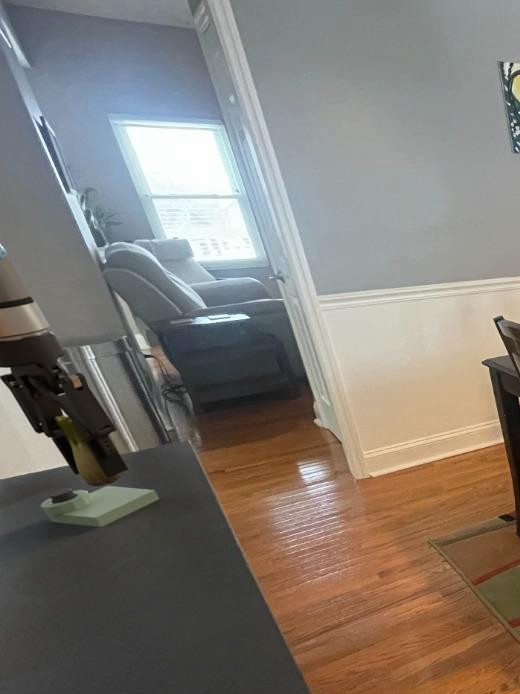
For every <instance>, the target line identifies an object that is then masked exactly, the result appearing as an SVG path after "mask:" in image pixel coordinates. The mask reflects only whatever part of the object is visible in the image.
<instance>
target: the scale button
mask: <svg viewBox="0 0 520 694" xmlns="http://www.w3.org/2000/svg"><path fill="white" fill-rule="evenodd" d="M73 491H74V490H72V488H63V489H58V490H55V491H53V492H51V493H50V494H49V495H48V497H49V499H50V498H51V499H52V501H53V502H54V503H55V504H56V503H62V502H65V501H68V500H71V499H73V498H75V497H76V496H75V494H74V493H73Z"/></svg>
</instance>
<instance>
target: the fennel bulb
mask: <svg viewBox="0 0 520 694" xmlns="http://www.w3.org/2000/svg"><path fill="white" fill-rule="evenodd" d="M55 420H56V422H57V423H58V425H59V427H60V428H61V429H62V431H63V433H64V434H65V436H66V438H67V439H68V441H69V443H70V445H71V447H72V451H73V455H74V459H75V462H76V466H77V469H78V471H79V474H78V475H80V477H81V478H82V479H83V481H84V482H85V483H86V484H87V485H88V486H91V487H102V486H105V485H106V486H107V485H112V484H114V483H115V482H117V481H118V480H119V479H120V478H121V477H122V476H123V475H124V472H121V473H119V474H117V475H114V476H112V477H107V476H106V475H105V473H104V472H103V470H102V468H101V467H100V465H99V464H98V462H97V461H96V459H95V457H94V456H93V454H92V453H91V451H90V449H89V448H88V446H87V445H86V443H85V442H83V441H82V440H83V439H85V438H87V437H86V436H85V435H84V434H83V433H82V432H81V431H80V430H79V428H78V427H77V426H76V425H75V424H74V423H73V422H72V420H71V419H70V418H69V417H68V416H65V415H64V414H63V416H58V417H55Z"/></svg>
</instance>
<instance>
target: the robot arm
mask: <svg viewBox="0 0 520 694" xmlns="http://www.w3.org/2000/svg"><path fill="white" fill-rule="evenodd" d="M50 327H51V326H50V324H49V322H48V321H47V319H46V317H45V315H44V314H43V312H42V311H41V309H40V307H39V305H38V304H37V302H36V301H35V300H34V298H33V297H32V294H31V293H30V291H29V290H28V288H27V286H26V285H25V283H24V281H23V279H22V277H21V275H20V274H19V272H18V271H17V269H16V267H15V265H14V264H13V262H12V260H11V258H10V256H9V255H8V251H7V249H6V248H5V247H4V246H2V245H1V244H0V368H2V369H10V372H9V373H5V374H2V375H0V380H1V382H2V383H3V384H4V385H5V386H6V388H8V390H9V391H10V393H11V394H12V396H13V397H14V399H15V401H16V402H17V405H18V406H19V408H20V409H21V411H22V412H23V414H24V416H25V418H26V419H27V421H28V422H29V425H30V426H31V427H32V429H33V431H34V432H35V433H36V434H39V435H40V434H44V435H45V436H46V437H47V438H49V439H51V441H52V442H53V443H54V445H55V447H56V448H57V449H58V451H59V453H60V454H61V456H62V457H63V459H64V460H65V462H66V463H67V465H68V466H69V468H70V470H71V471H72V472H73V474H74V475H80V474H79V471H78V469H77V466H76V462H75V459H74V455H73V451H72V447H71V445H70V443H69V441H68V439H67V438H66V436H65V434H64V433H63V431H62V429H61V428H60V427H59V425H58V423H57V422H56V420H55V417H58V416H63V415H64V414H65V415H66V417H69V418H70V419H71V420H72V422H73V423H74V424H75V425H76V426H77V427H78V428H79V430H80V431H81V432H82V433H83V434H84V435H85V436H86V437H87V438H85V439H83V440H82V441H83V442H85V443H86V445H87V446H88V448H89V449H90V451H91V453H92V454H93V456H94V457H95V459H96V461H97V462H98V464H99V465H100V467H101V468H102V470H103V472H104V473H105V475H106V476H107V477H112V476H114V475H117V474H119V473H121V472H123V473H124V472H126V471H128V470H129V467H128V466H127V464H126V463H125V461H124V459H123V458H122V456H121V454H120V453H119V451H118V450H117V448H116V446H115V445H114V443H113V442H112V440H111V437H110V436H109V435H110V434H112V433H114V432H116V431H117V428H116V426H115V425H114V423H113V422H112V420H111V418H110V417H109V415H108V414H107V412H106V411H105V409H104V408H103V406H102V405H101V404H100V402H99V400H98V398H96V396H95V394H94V393H93V391H92V390H91V388H90V386H89V384H88V381H87V379H86V376H85V375H84V374H83V373H82V372H77V373H69V372H67V370H66V369H65V368H64V366H62V365H61V363H60V362H59V361H58V360H59V358H61V357H63V356H65V353H66V352H65V350H64V348H63V346H62V344H61V343H60V341H59V339H58V337H57V336H56V334H55V333H54V332H52V331H50V330H48V329H49V328H50Z"/></svg>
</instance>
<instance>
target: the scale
mask: <svg viewBox="0 0 520 694" xmlns="http://www.w3.org/2000/svg"><path fill="white" fill-rule="evenodd" d="M72 491H73V493H74V494H75V496H76V497H75V498H73V499H71V500H68V501H65V502H62V503H56V504H55V503H54V502H53V501H52V499H51V498H50V497H49V498H48V499H46V500H44V501H43V502H41V503H40V508H41V509H42V510H43V512H44V513H45V515H46V516H47V518H48V519H49V520H50V521H51V523H58V524H59V523H61V524H68V525H77V526H89V527H97V528H102V527H104V526H107V525H108V524H111V523H113V522H115V521H117V520H119V519H121V518H123V517H125V516H127V515H129V514H132V513H134V512H136V511H138V510H140V509H143V508H144V507H146V506H149V505H150V504H152V503H154V502H157V501H159V500H160V497H159V496H158V494H157V492H156V490H155V489H146V488H134V487H123V486H112V485H111V486H110V485H106V486H104V487H101V488H99V489H97V490H95V491H92V492H90V493H89V492H88V490H83V489H79V490H78V489H77V490H72Z"/></svg>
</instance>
